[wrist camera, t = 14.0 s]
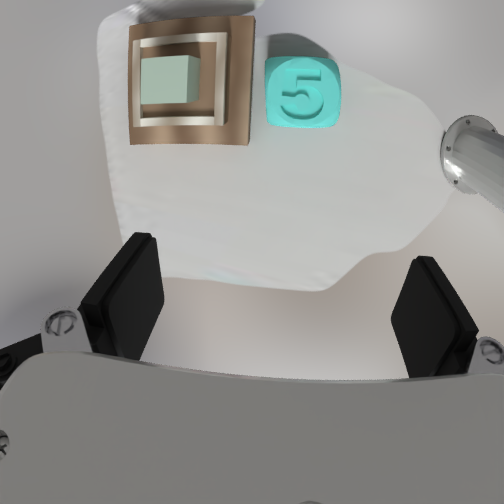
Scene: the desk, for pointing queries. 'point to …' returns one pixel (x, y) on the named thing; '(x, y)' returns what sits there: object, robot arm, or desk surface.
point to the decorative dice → (302, 91)
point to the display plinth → (237, 82)
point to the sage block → (170, 79)
